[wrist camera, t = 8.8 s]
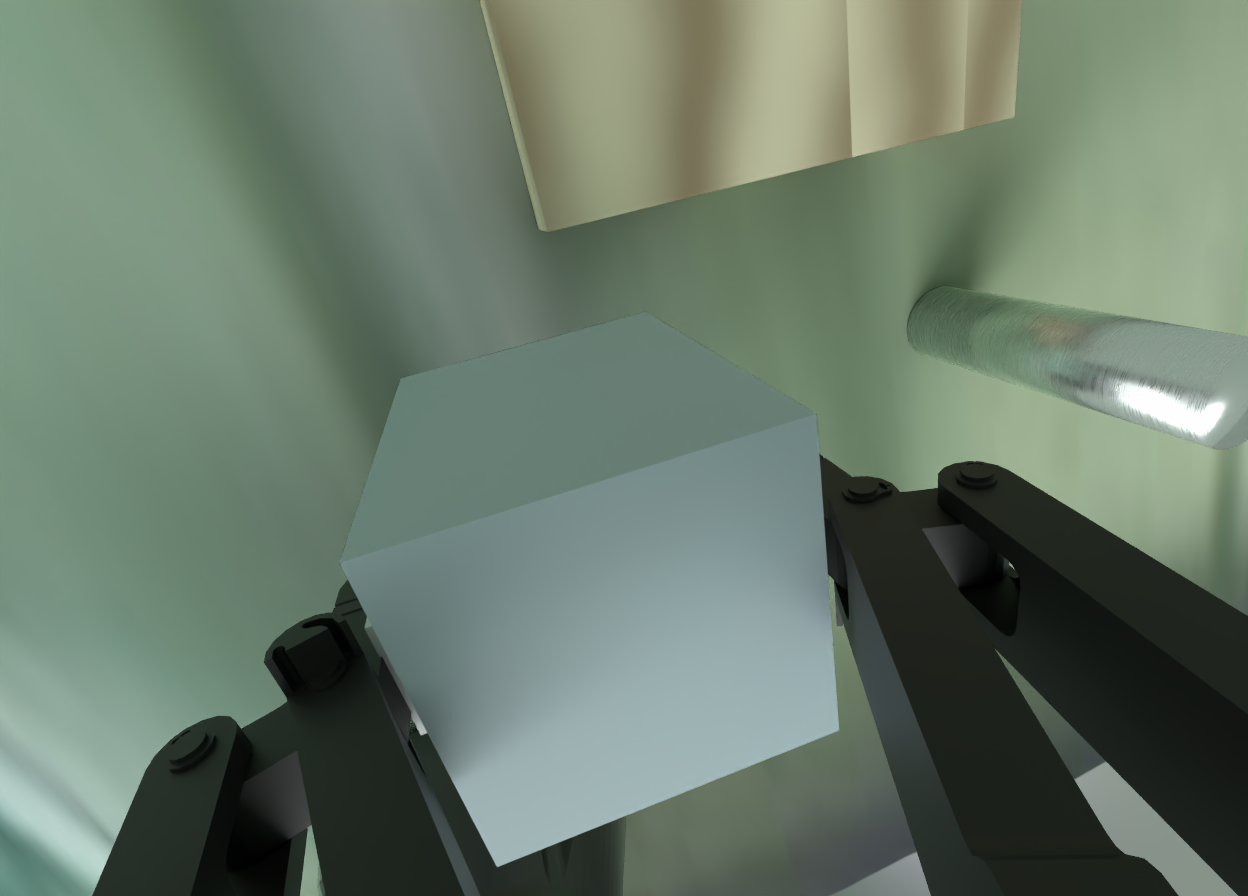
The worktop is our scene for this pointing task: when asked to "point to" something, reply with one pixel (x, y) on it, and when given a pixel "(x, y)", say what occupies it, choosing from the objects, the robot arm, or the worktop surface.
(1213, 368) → the peg
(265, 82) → the worktop surface
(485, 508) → the block
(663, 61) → the board
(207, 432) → the worktop surface
